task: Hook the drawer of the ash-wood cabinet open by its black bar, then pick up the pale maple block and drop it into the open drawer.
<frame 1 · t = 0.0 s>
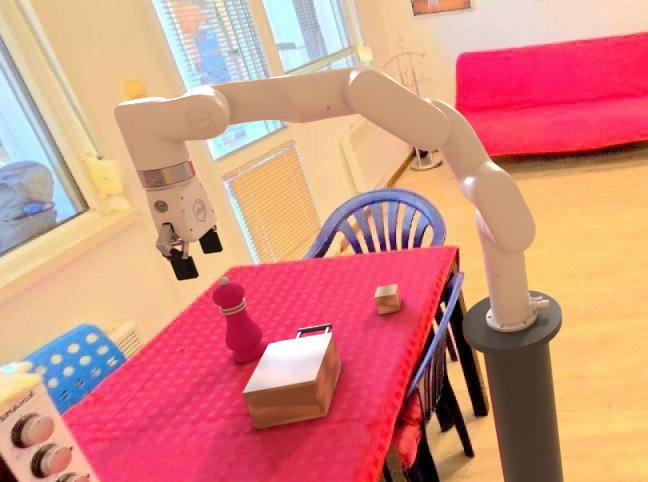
hand: (201, 264, 92), 31 cm above the table, tool pointing down, fingers open, 9 cm apart
pepper mill: (250, 354, 119), on the table
drawer: (304, 359, 109), point 4 cm above the table, slide at 0.5 cm
block: (390, 307, 133), on the table
cabinet: (302, 395, 105), on the table
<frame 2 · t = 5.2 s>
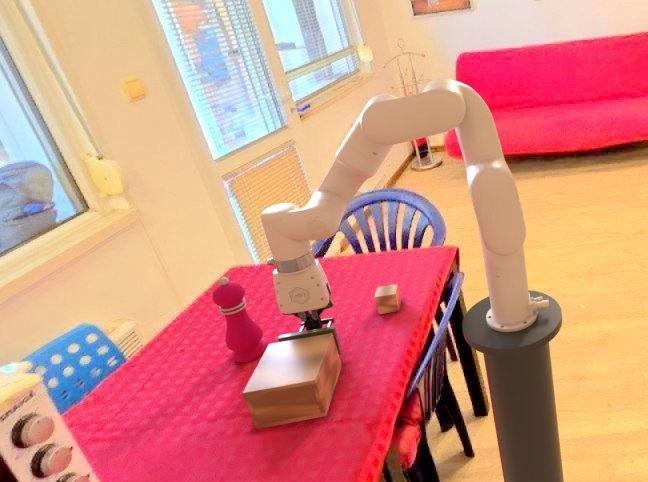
hand: (315, 331, 118), 4 cm above the table, tool pointing down, fingers closed
drawer: (307, 352, 111), point 4 cm above the table, slide at 2.9 cm, touching gripper
everything else where it was.
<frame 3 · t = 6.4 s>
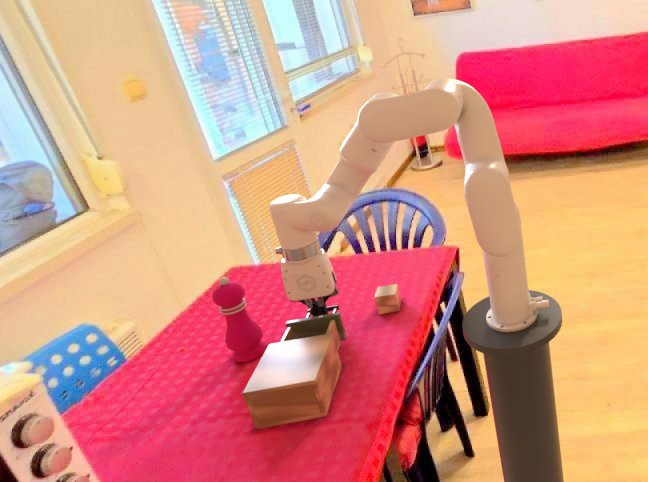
hand: (321, 318, 123), 4 cm above the table, tool pointing down, fingers closed
drawer: (313, 337, 116), point 4 cm above the table, slide at 8.2 cm, touching gripper
everything else where it was.
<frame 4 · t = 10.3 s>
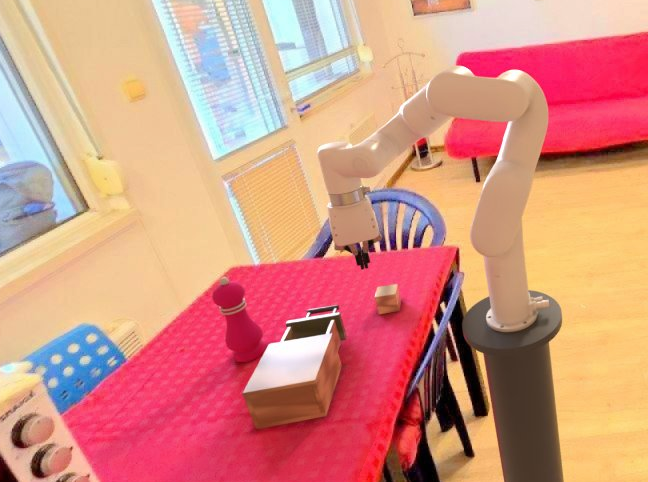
hand: (364, 266, 125), 13 cm above the table, tool pointing down, fingers closed
drawer: (313, 337, 116), point 4 cm above the table, slide at 8.3 cm
everything else where it was.
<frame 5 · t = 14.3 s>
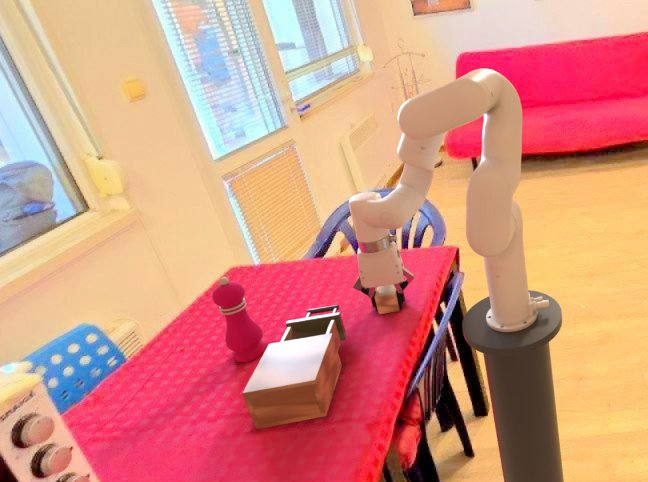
hand: (389, 305, 132), 0 cm above the table, tool pointing down, fingers closed on block, 5 cm apart
block: (390, 307, 133), on the table, touching gripper
everything else where it was.
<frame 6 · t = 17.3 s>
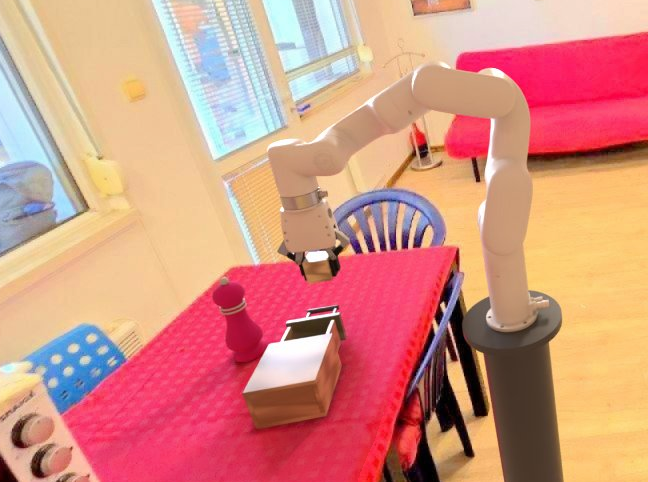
hand: (322, 274, 114), 18 cm above the table, tool pointing down, fingers closed on block, 5 cm apart
block: (322, 276, 115), point 17 cm above the table, touching gripper
everything else where it was.
when the fingers open (8 cm above the table, at t = 20.7 s): block drops 6 cm, resting on drawer.
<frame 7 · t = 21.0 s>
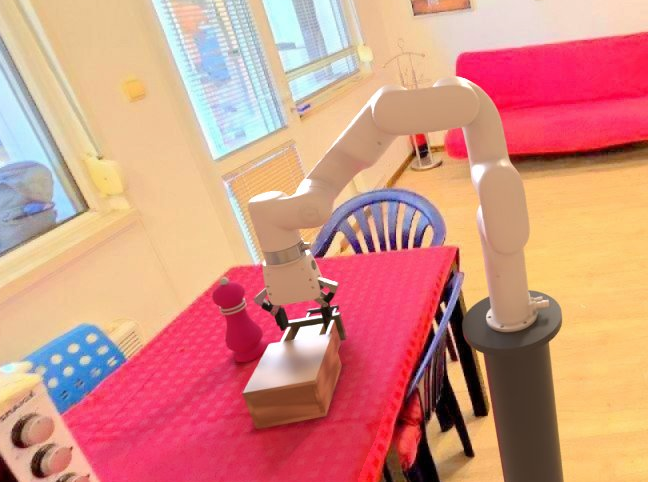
hand: (306, 323, 112), 9 cm above the table, tool pointing down, fingers open, 8 cm apart
drawer: (313, 337, 116), point 4 cm above the table, slide at 8.3 cm, touching block
block: (314, 350, 115), point 2 cm above the table, touching drawer
everything else where it was.
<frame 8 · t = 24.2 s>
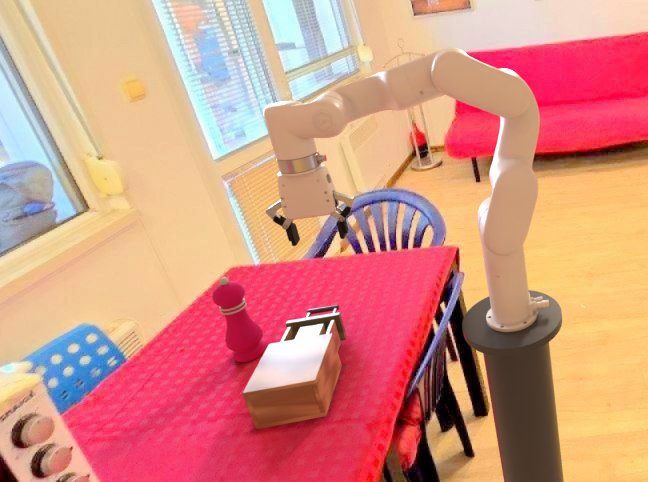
hand: (320, 239, 111), 26 cm above the table, tool pointing down, fingers open, 9 cm apart
nothing on the table moved.
at the end: drawer slide at 8.3 cm; block inside the target area in the drawer (1.7 cm from its centre), point 2.0 cm above the cabinet's base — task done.
